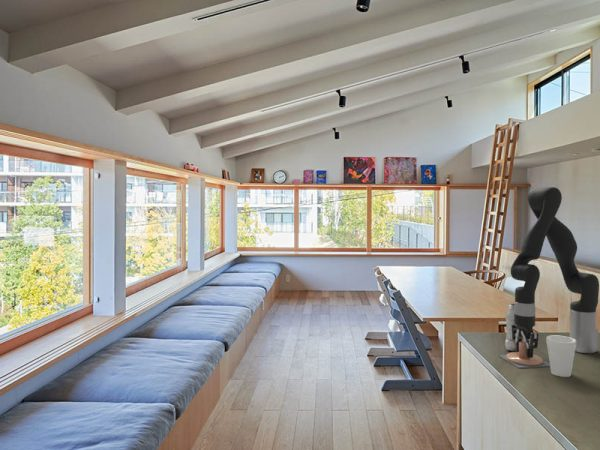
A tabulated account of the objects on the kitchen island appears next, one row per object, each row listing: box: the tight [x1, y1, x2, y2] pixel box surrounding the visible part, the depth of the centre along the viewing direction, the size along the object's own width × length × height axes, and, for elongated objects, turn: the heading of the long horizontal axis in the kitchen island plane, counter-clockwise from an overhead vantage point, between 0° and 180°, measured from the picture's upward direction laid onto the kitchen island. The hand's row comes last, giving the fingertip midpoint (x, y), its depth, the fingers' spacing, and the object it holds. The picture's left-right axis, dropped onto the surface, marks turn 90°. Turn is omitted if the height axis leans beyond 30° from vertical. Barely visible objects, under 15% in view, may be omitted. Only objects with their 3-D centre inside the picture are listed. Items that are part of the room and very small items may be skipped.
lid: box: [506, 340, 543, 366], centre depth 173 cm, size 13×13×7 cm
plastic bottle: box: [504, 303, 517, 352], centre depth 185 cm, size 6×7×20 cm
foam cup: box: [545, 334, 576, 378], centre depth 160 cm, size 10×9×13 cm
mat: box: [497, 354, 550, 369], centre depth 174 cm, size 14×14×1 cm
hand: (524, 354), depth 174 cm, fingers open, 6 cm apart
